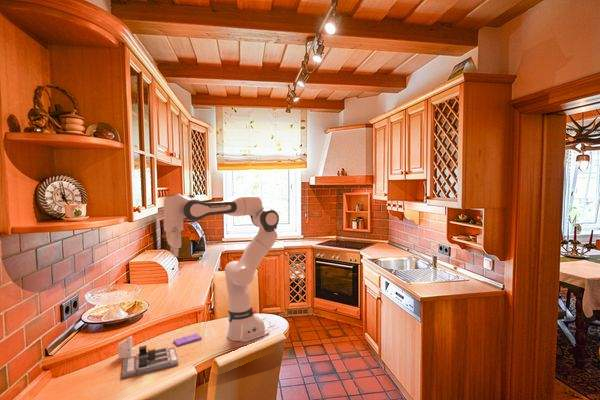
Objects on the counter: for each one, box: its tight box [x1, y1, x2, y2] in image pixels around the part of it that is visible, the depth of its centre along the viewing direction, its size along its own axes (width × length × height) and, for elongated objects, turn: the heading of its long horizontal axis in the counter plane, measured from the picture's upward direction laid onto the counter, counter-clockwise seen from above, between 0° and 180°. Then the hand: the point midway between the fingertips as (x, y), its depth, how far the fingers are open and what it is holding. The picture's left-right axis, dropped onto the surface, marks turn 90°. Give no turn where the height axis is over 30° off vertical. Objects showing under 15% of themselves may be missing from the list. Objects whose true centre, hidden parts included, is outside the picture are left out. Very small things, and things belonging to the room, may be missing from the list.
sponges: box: [172, 332, 203, 347], centre depth 168 cm, size 7×13×2 cm, turn 128°
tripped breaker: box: [147, 346, 156, 360], centre depth 146 cm, size 3×3×5 cm
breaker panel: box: [121, 345, 179, 379], centre depth 146 cm, size 22×16×6 cm
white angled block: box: [117, 335, 136, 359], centre depth 153 cm, size 4×10×9 cm
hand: (174, 255), depth 158 cm, fingers open, 8 cm apart
